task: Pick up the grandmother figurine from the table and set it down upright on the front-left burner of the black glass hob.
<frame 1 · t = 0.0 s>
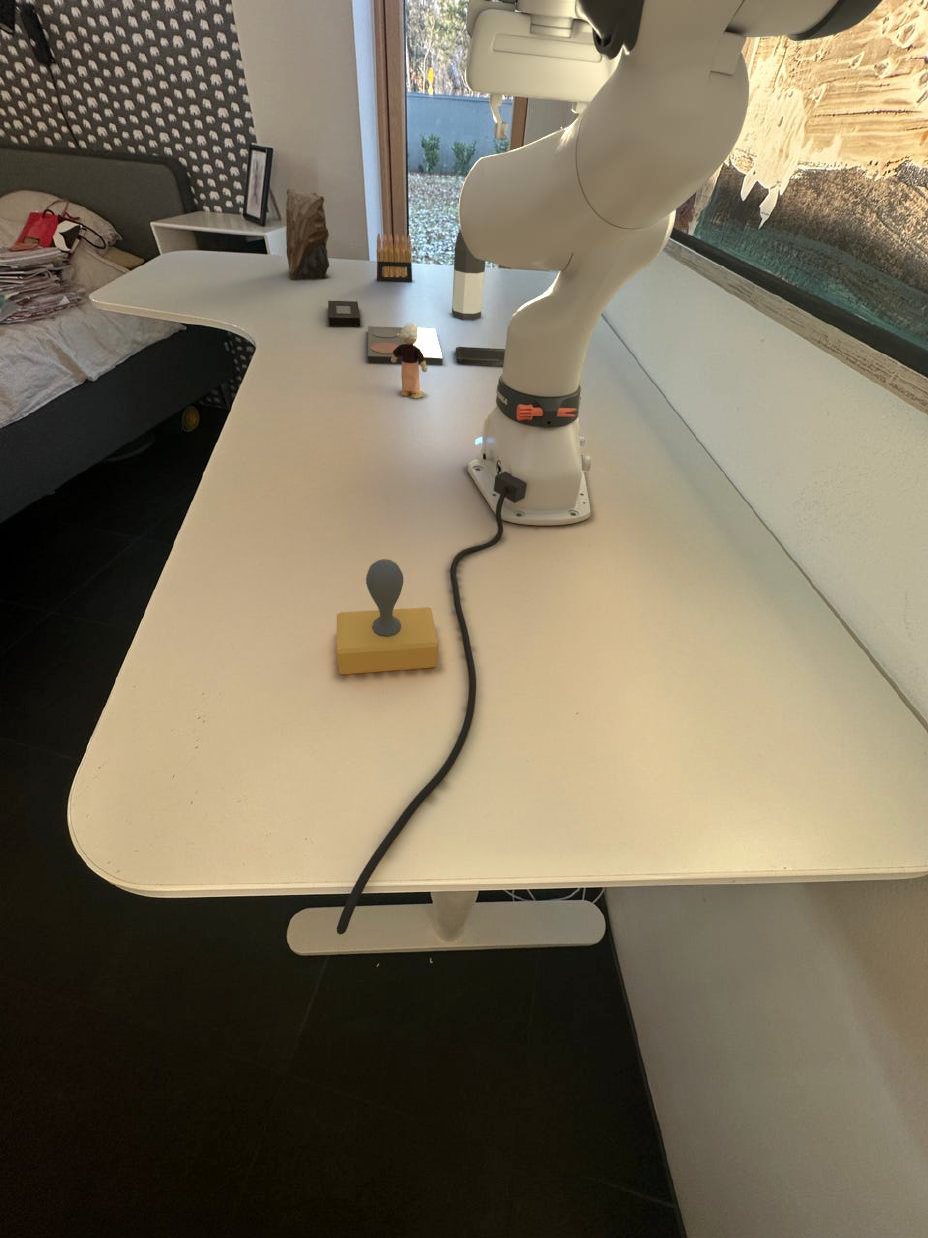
hand: (532, 141, 77), 39 cm above the table, tool pointing down, fingers open, 8 cm apart
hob: (403, 348, 125), on the table
rubber stamp: (387, 653, 58), on the table
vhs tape: (344, 318, 138), on the table
phone: (489, 360, 124), on the table
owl: (304, 276, 165), on the table
ammunition clip: (394, 281, 168), on the table
grandmother figurine: (409, 395, 107), on the table
wine bottle: (466, 316, 147), on the table
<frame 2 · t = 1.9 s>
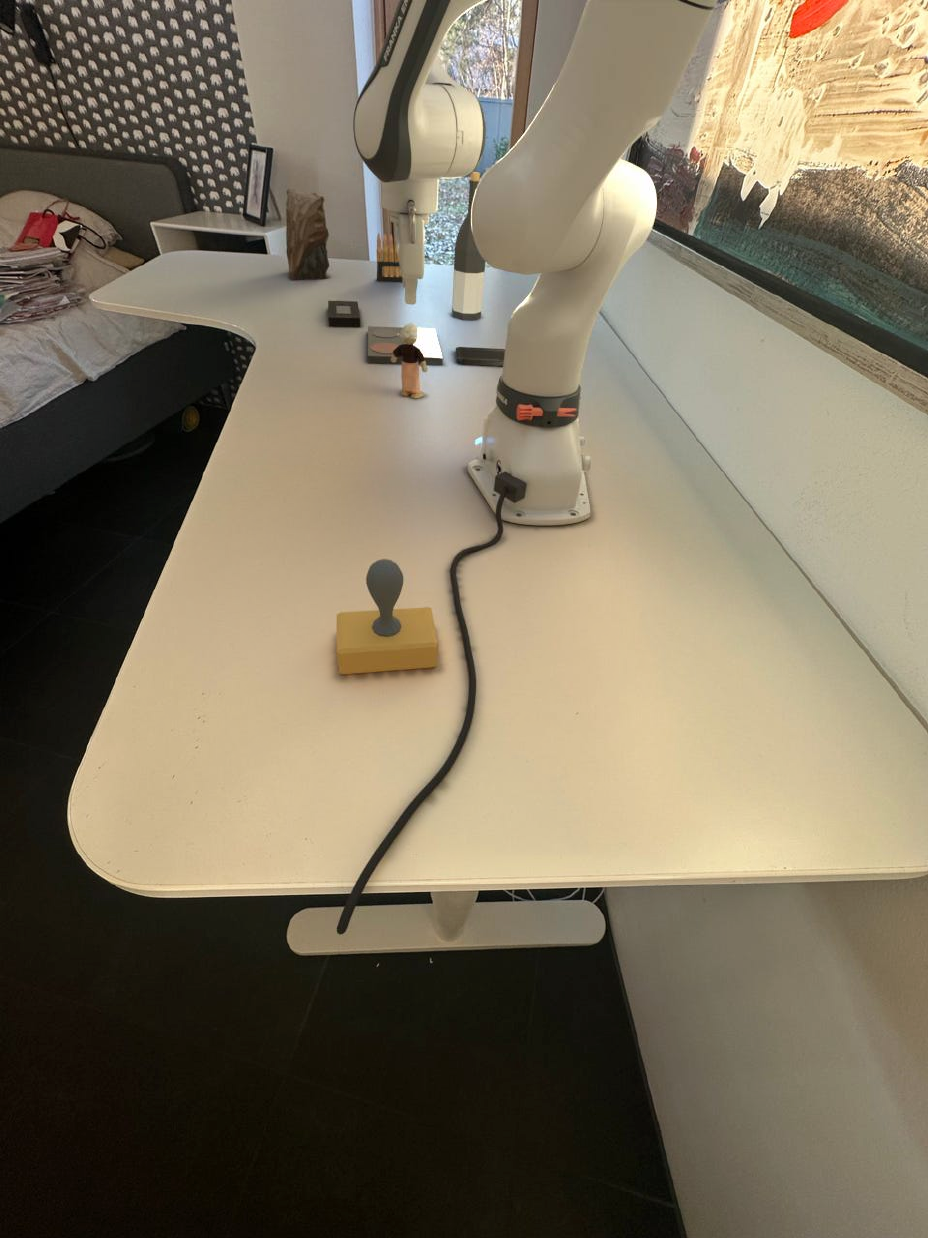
hand: (408, 294, 95), 17 cm above the table, tool pointing down, fingers open, 8 cm apart
nothing on the table moved.
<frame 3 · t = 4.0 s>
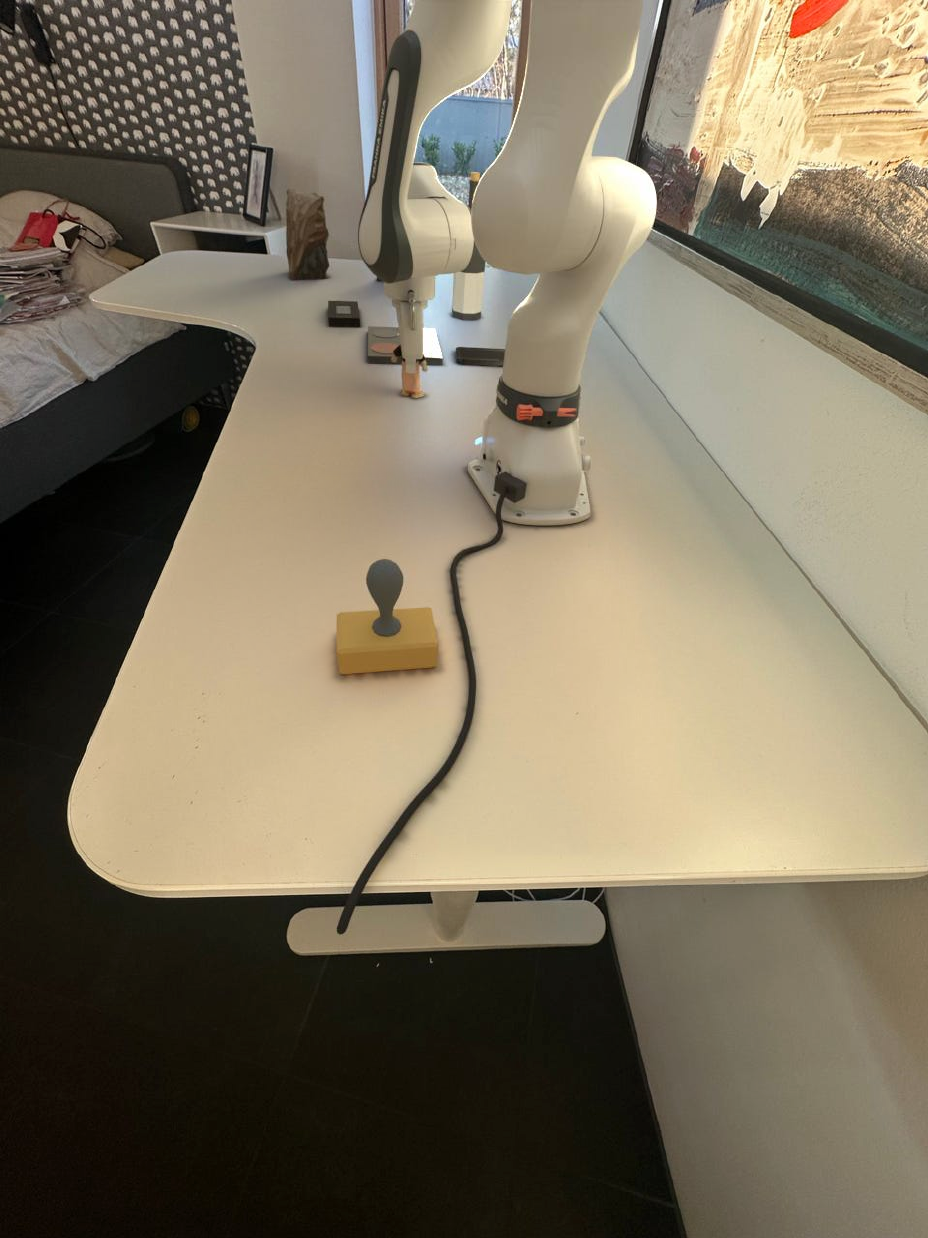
hand: (409, 367, 103), 5 cm above the table, tool pointing down, fingers closed on grandmother figurine, 3 cm apart
grandmother figurine: (409, 394, 107), on the table, touching gripper
everything else where it was.
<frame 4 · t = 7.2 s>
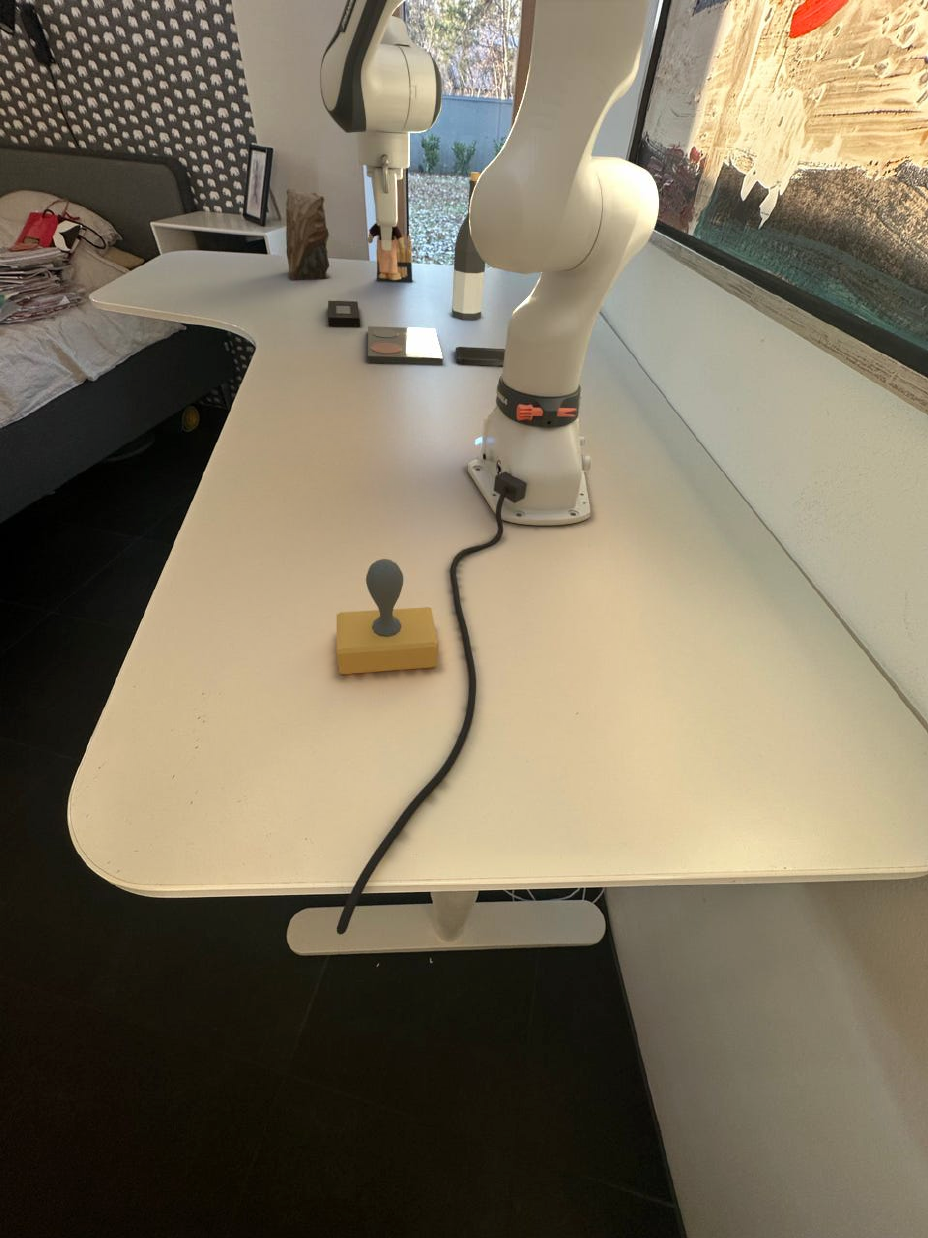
hand: (386, 246, 105), 21 cm above the table, tool pointing down, fingers closed on grandmother figurine, 3 cm apart
grandmother figurine: (387, 278, 109), point 16 cm above the table, touching gripper
everything else where it was.
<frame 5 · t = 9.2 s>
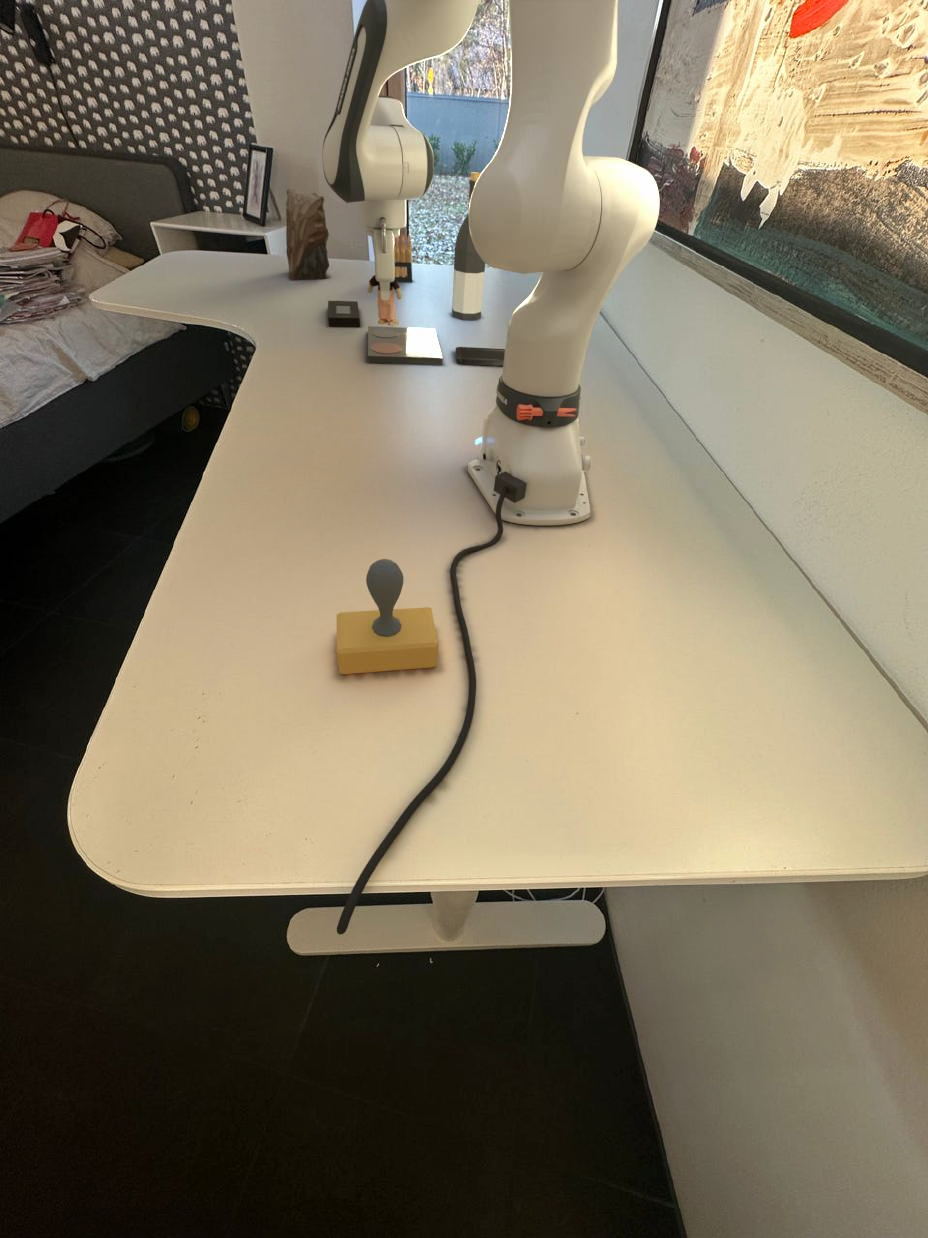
hand: (384, 295, 113), 12 cm above the table, tool pointing down, fingers closed on grandmother figurine, 3 cm apart
grandmother figurine: (385, 323, 117), point 6 cm above the table, touching gripper
everything else where it was.
when the fingers open (7 cm above the table, at t = 10.7 s): grandmother figurine stays where it is, resting on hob.
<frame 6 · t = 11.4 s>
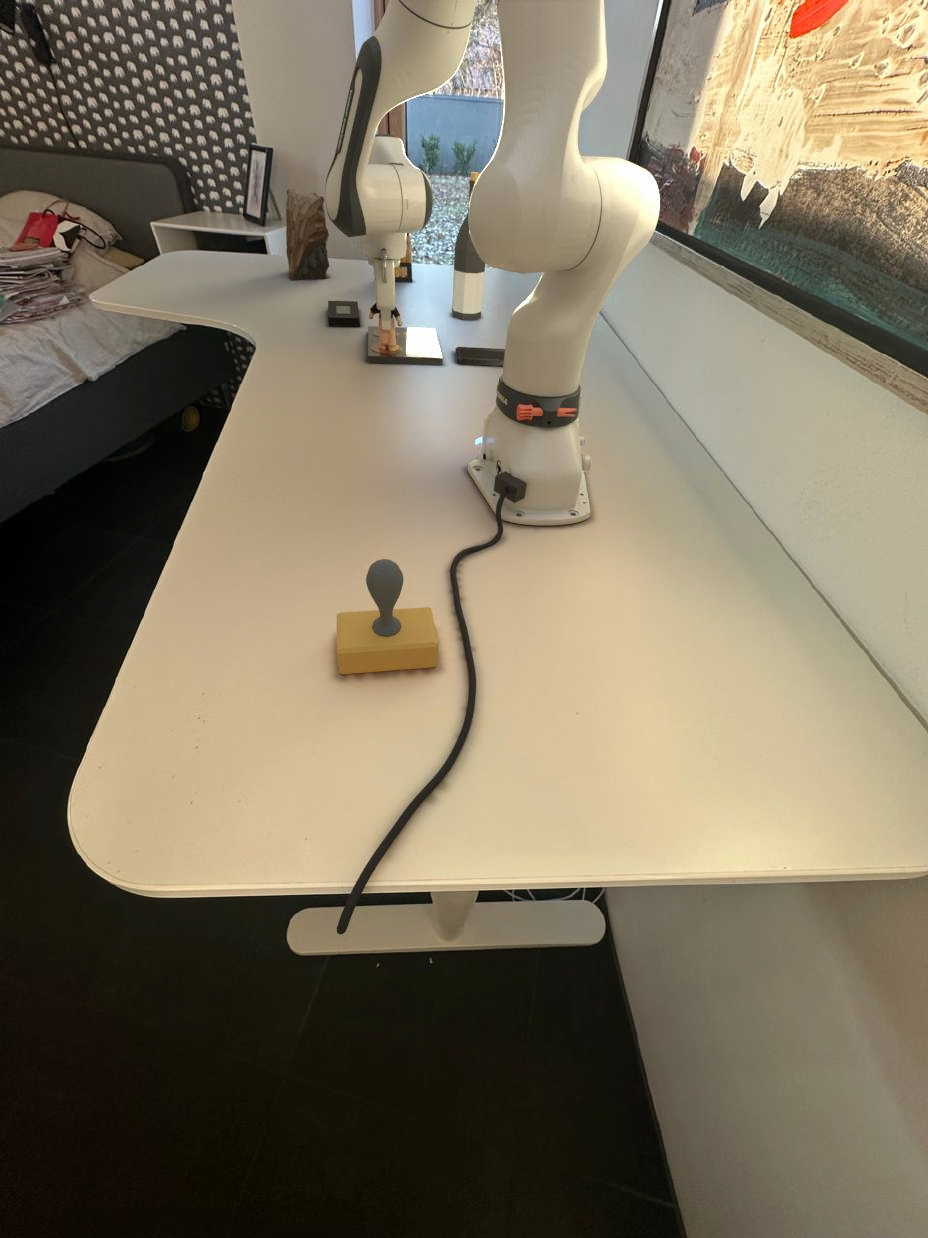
hand: (385, 321, 116), 7 cm above the table, tool pointing down, fingers open, 8 cm apart
grandmother figurine: (386, 348, 120), point 1 cm above the table, touching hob
everything else where it was.
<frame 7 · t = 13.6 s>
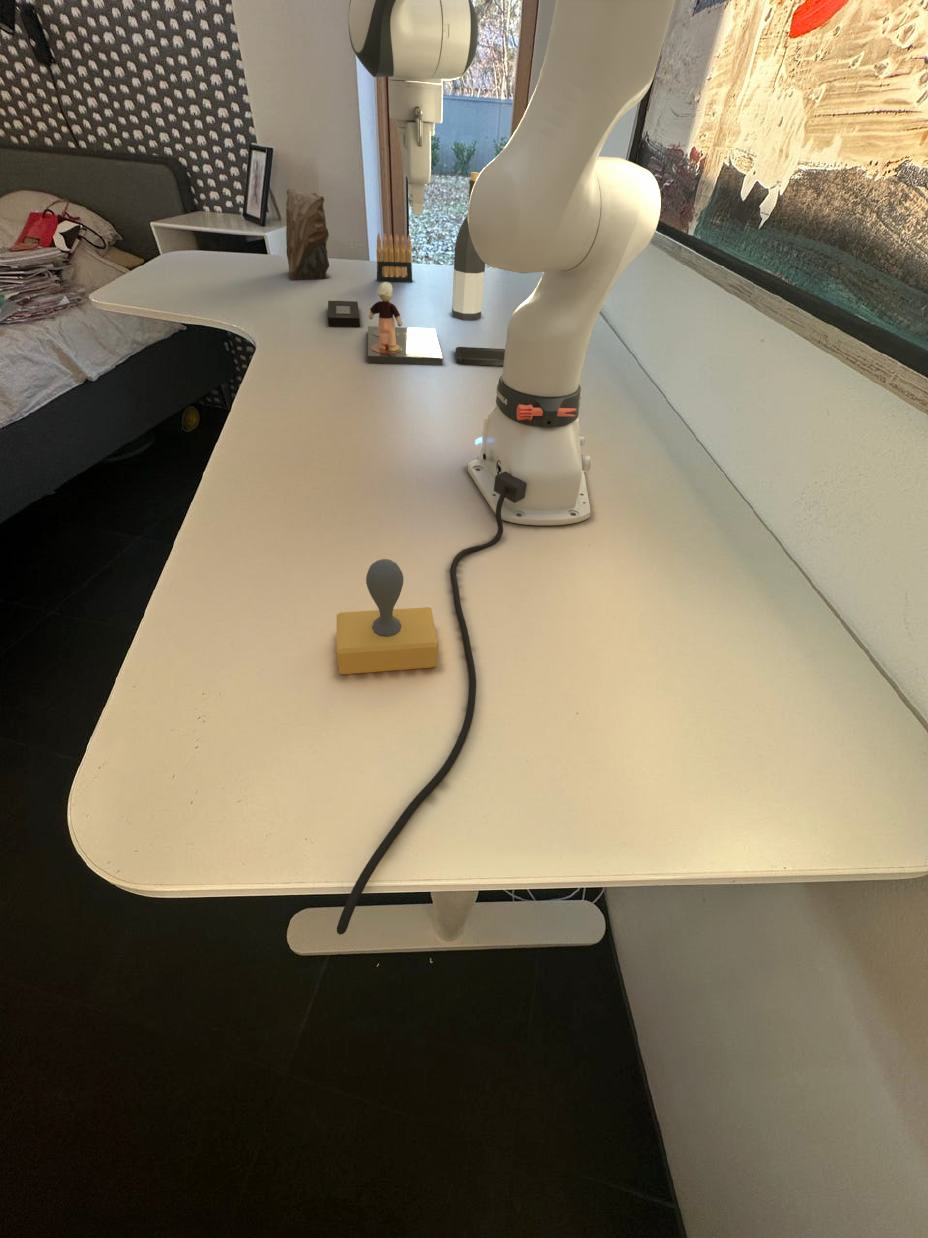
hand: (415, 210, 100), 27 cm above the table, tool pointing down, fingers open, 8 cm apart
nothing on the table moved.
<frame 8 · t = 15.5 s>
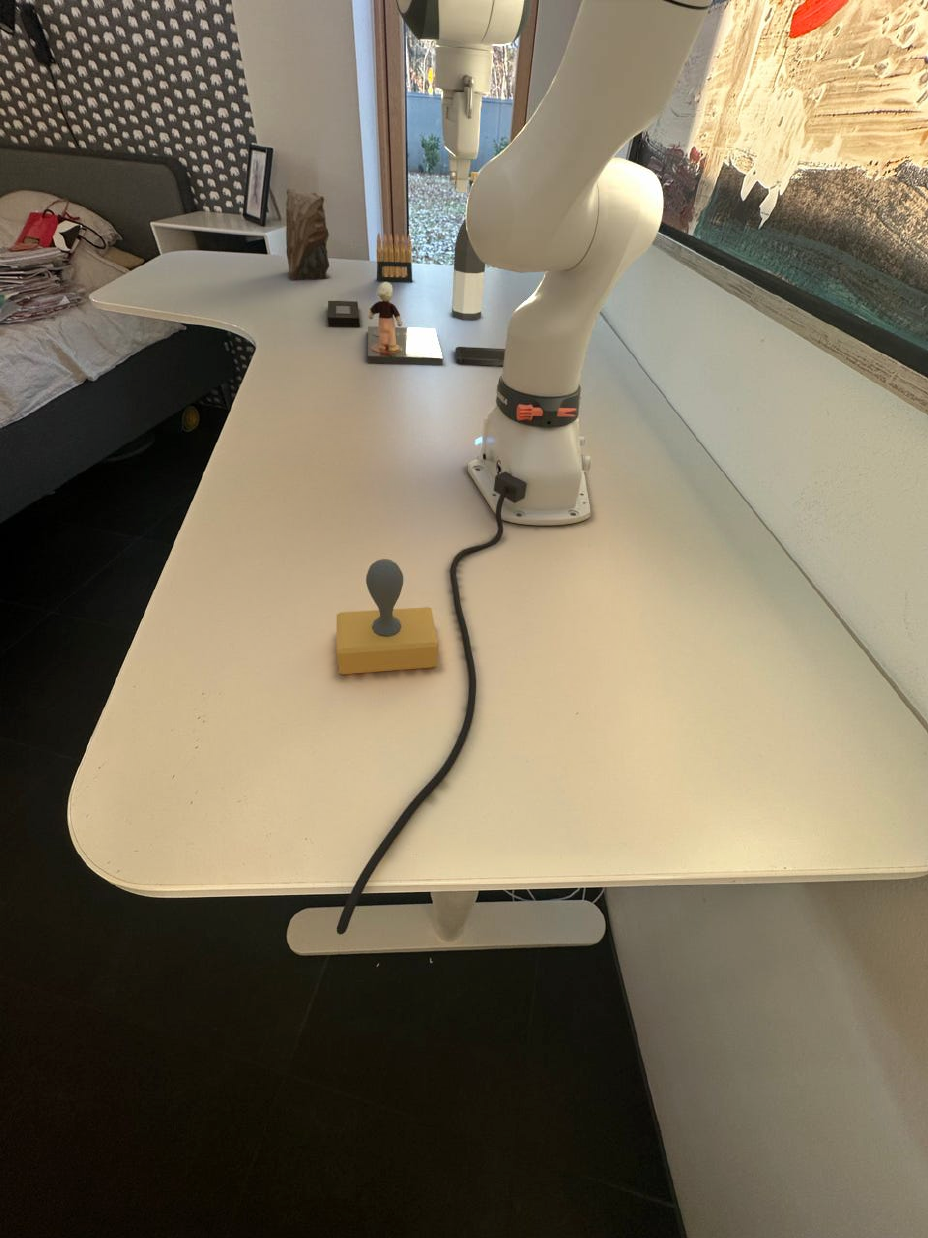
hand: (457, 187, 95), 31 cm above the table, tool pointing down, fingers open, 8 cm apart
nothing on the table moved.
at the end: grandmother figurine inside the target area on the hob (0.4 cm from its centre), point 1.4 cm above the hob's base; grandmother figurine tilted 0°; the gripper is holding nothing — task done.
